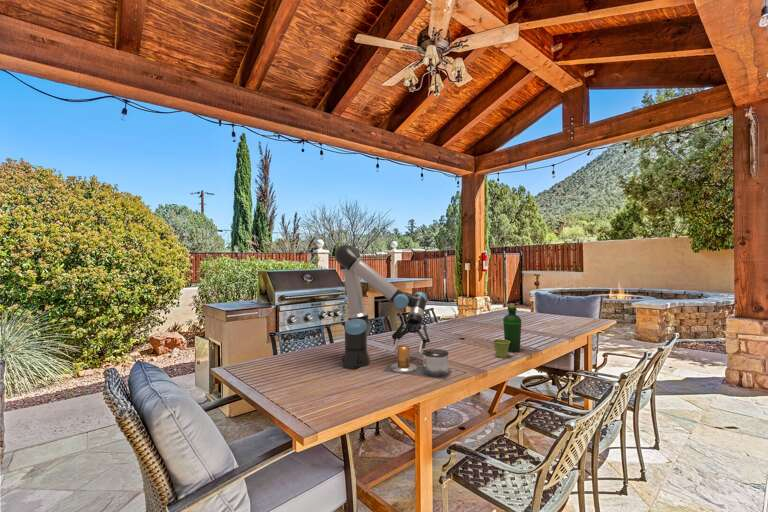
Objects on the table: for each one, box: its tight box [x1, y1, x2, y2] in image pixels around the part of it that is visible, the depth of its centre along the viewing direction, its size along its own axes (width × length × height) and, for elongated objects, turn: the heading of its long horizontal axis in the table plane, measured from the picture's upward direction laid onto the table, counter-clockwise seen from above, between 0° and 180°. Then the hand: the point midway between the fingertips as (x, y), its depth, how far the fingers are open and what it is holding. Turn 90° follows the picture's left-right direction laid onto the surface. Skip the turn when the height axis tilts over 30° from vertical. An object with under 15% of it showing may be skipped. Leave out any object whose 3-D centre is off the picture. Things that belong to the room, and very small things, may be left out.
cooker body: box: [422, 348, 449, 378], centre depth 168 cm, size 12×12×10 cm
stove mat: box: [381, 362, 453, 381], centre depth 172 cm, size 32×14×1 cm, turn 67°
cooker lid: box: [391, 344, 418, 374], centre depth 174 cm, size 13×13×11 cm
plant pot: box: [492, 338, 510, 359], centre depth 199 cm, size 9×9×9 cm
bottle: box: [502, 303, 522, 353], centre depth 210 cm, size 11×11×28 cm
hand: (407, 352), depth 176 cm, fingers open, 13 cm apart
